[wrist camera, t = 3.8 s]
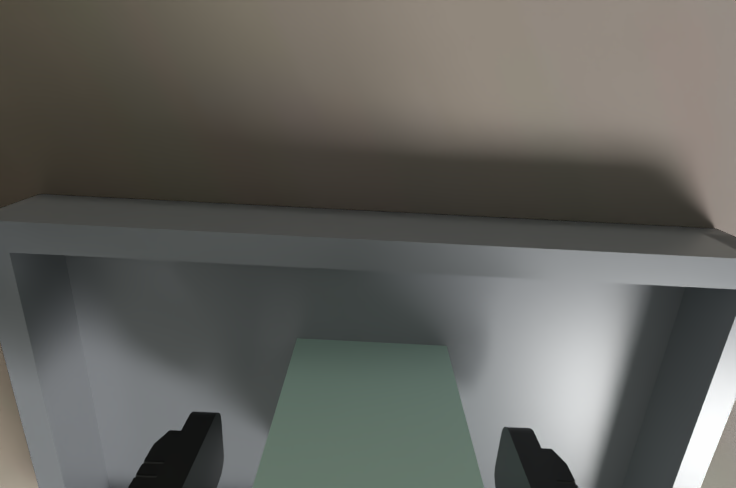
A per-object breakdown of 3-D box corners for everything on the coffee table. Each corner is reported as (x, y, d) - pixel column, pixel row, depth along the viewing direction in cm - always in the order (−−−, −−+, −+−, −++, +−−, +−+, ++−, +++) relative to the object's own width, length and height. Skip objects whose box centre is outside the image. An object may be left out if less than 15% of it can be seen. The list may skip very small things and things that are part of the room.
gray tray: (716, 228, 13) (790, 261, 11) (614, 539, 18) (651, 610, 15) (40, 193, 13) (-33, 219, 11) (105, 514, 18) (63, 581, 15)
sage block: (446, 345, 14) (494, 526, 8) (432, 461, 16) (464, 678, 10) (297, 338, 14) (244, 513, 8) (297, 454, 16) (253, 668, 10)
